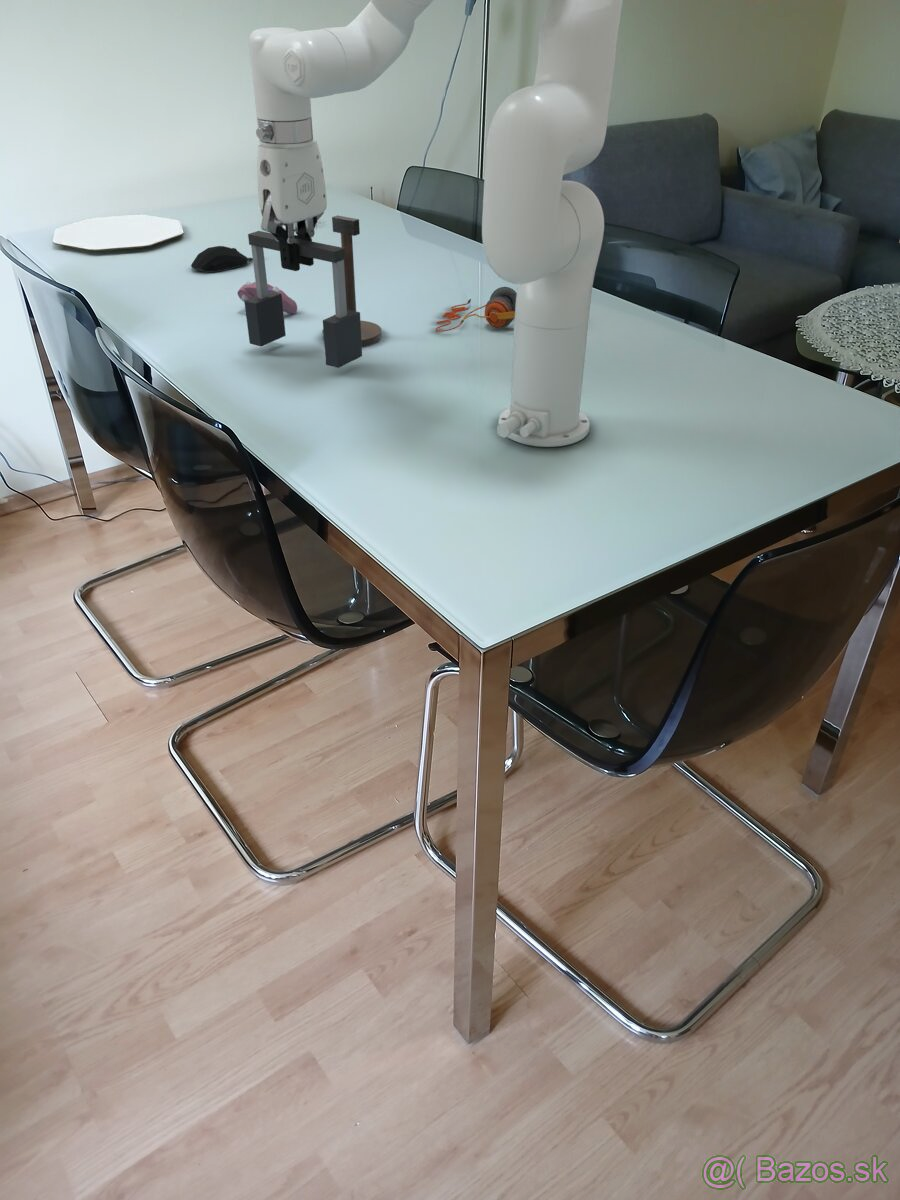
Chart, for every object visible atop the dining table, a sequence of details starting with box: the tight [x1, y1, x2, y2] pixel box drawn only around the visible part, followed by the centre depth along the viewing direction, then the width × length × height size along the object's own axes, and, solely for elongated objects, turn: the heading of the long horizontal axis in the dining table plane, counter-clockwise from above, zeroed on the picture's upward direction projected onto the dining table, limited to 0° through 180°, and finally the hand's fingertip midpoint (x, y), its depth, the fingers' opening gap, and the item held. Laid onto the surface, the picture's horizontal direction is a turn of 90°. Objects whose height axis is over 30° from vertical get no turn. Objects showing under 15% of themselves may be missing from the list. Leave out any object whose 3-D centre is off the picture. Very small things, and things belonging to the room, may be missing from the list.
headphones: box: [435, 286, 517, 333], centre depth 160 cm, size 17×5×20 cm
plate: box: [52, 214, 185, 252], centre depth 204 cm, size 28×28×2 cm
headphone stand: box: [321, 215, 383, 348], centre depth 149 cm, size 10×10×19 cm
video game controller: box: [237, 281, 298, 315], centre depth 163 cm, size 10×5×7 cm, turn 62°
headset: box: [243, 230, 363, 369], centre depth 141 cm, size 6×18×17 cm, turn 57°
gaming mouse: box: [190, 245, 253, 273], centre depth 187 cm, size 6×15×4 cm, turn 127°
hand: (297, 265), depth 138 cm, fingers closed on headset, 2 cm apart
